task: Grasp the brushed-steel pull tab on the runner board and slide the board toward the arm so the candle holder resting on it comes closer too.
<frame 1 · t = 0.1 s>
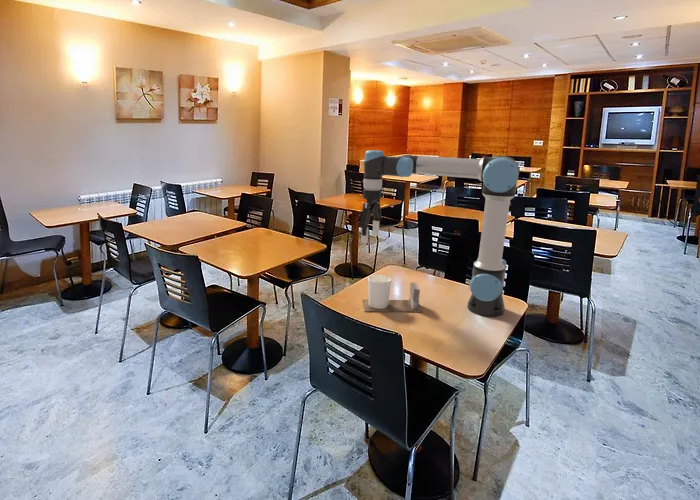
hand: (370, 239, 187), 28 cm above the table, fingers open, 13 cm apart
runner board: (392, 295, 188), point 5 cm above the table, slide at 0.1 cm, touching candle holder
candle holder: (378, 305, 189), resting on runner board
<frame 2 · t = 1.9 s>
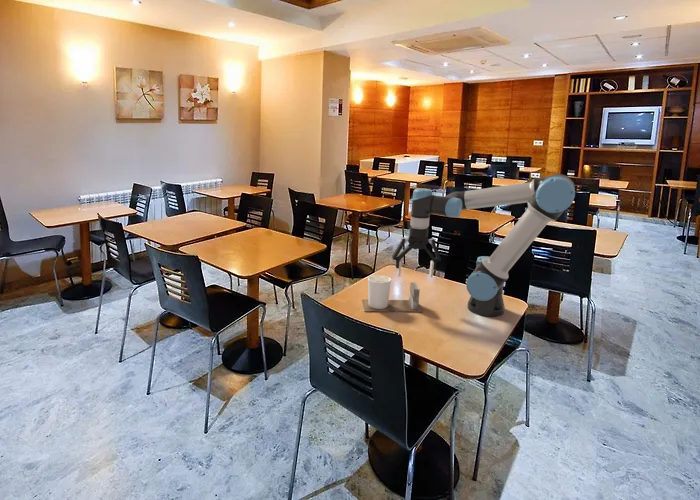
hand: (414, 276, 186), 14 cm above the table, fingers open, 13 cm apart
nothing on the table moved.
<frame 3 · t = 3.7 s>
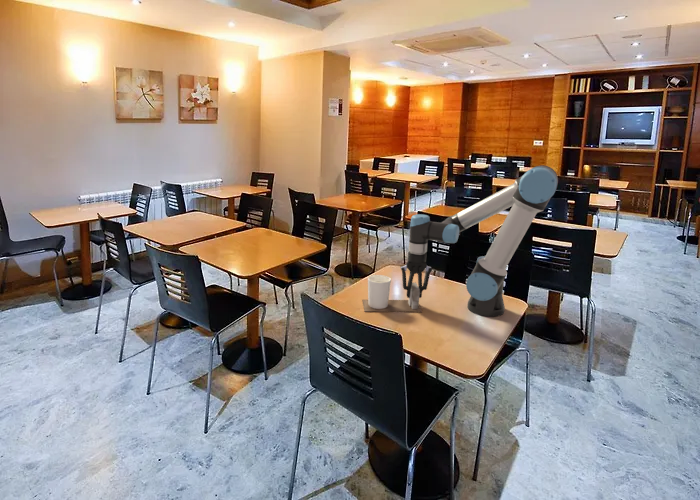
hand: (413, 304, 189), 1 cm above the table, fingers closed on runner board, 2 cm apart
runner board: (391, 295, 188), point 5 cm above the table, slide at 0.0 cm, touching candle holder, gripper
everything else where it was.
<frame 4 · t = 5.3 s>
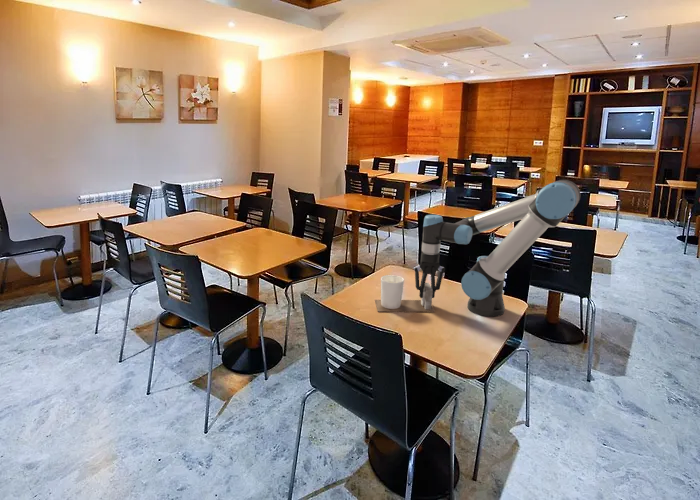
hand: (426, 304, 190), 1 cm above the table, fingers closed on runner board, 2 cm apart
runner board: (404, 296, 188), point 5 cm above the table, slide at 5.5 cm, touching candle holder, gripper
candle holder: (390, 305, 189), resting on runner board
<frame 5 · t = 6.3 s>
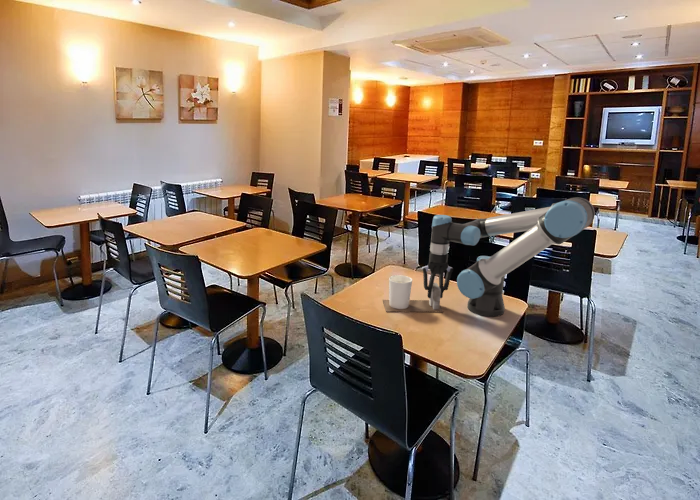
hand: (434, 304, 190), 1 cm above the table, fingers closed on runner board, 2 cm apart
runner board: (412, 296, 188), point 5 cm above the table, slide at 9.0 cm, touching candle holder, gripper
candle holder: (398, 305, 189), resting on runner board
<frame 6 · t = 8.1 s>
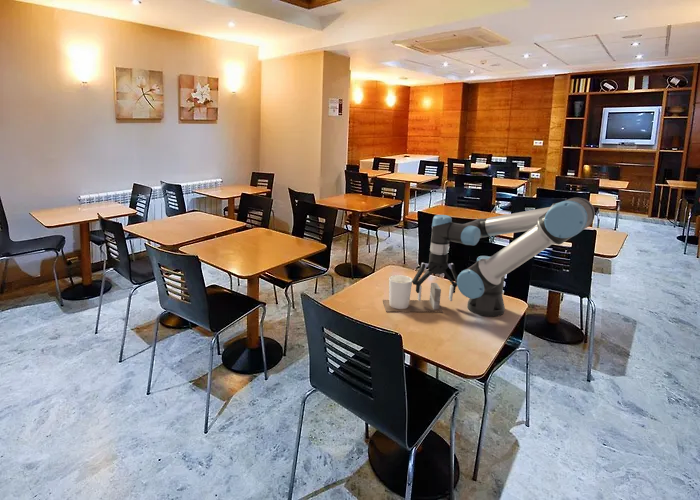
hand: (434, 299, 189), 3 cm above the table, fingers open, 13 cm apart
runner board: (413, 296, 188), point 5 cm above the table, slide at 9.0 cm, touching candle holder
everything else where it was.
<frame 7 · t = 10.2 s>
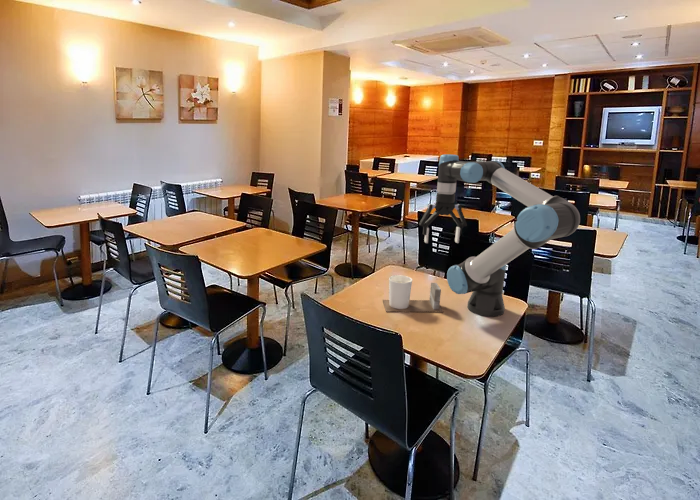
hand: (441, 242, 188), 27 cm above the table, fingers open, 13 cm apart
nothing on the table moved.
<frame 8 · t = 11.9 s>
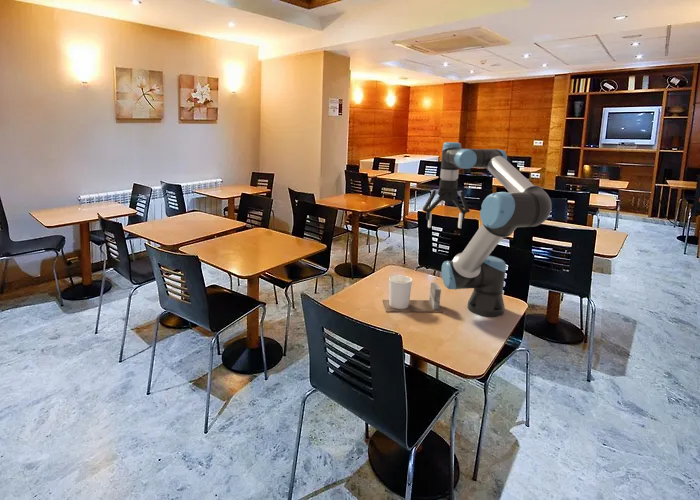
hand: (444, 227, 195), 32 cm above the table, fingers open, 13 cm apart
nothing on the table moved.
at the end: runner board slide at 9.0 cm; candle holder moved 9.2 cm from its start; candle holder tilted 0° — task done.
